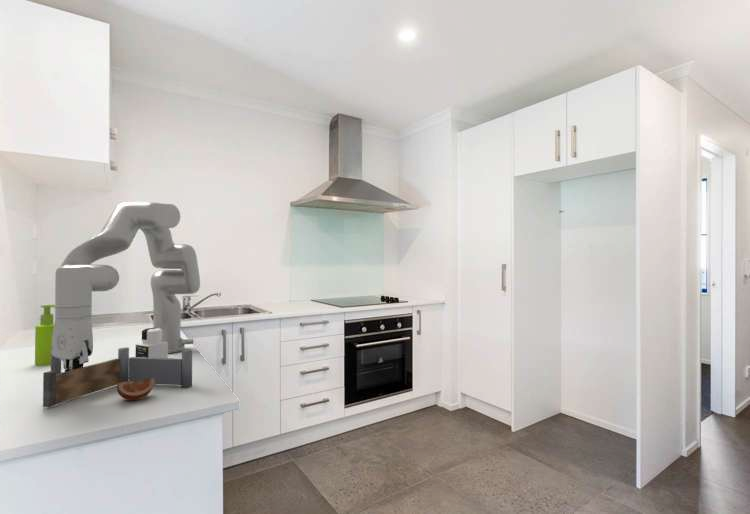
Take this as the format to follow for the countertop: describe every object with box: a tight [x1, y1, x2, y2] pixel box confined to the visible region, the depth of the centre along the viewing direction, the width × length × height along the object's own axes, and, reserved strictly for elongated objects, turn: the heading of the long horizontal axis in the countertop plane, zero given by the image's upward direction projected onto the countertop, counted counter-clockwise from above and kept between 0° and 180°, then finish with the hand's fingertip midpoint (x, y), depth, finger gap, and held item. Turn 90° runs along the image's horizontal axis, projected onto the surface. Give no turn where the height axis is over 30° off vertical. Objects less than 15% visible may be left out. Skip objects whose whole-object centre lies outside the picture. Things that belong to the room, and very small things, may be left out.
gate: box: [42, 358, 119, 408], centre depth 100 cm, size 18×2×8 cm, turn 164°
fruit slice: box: [116, 378, 156, 401], centre depth 98 cm, size 8×7×5 cm
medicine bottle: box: [135, 327, 169, 358], centre depth 133 cm, size 7×7×12 cm
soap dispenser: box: [34, 304, 55, 367], centre depth 133 cm, size 6×7×20 cm
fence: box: [50, 346, 193, 389], centre depth 111 cm, size 44×3×10 cm, turn 83°
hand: (73, 383), depth 101 cm, fingers closed
